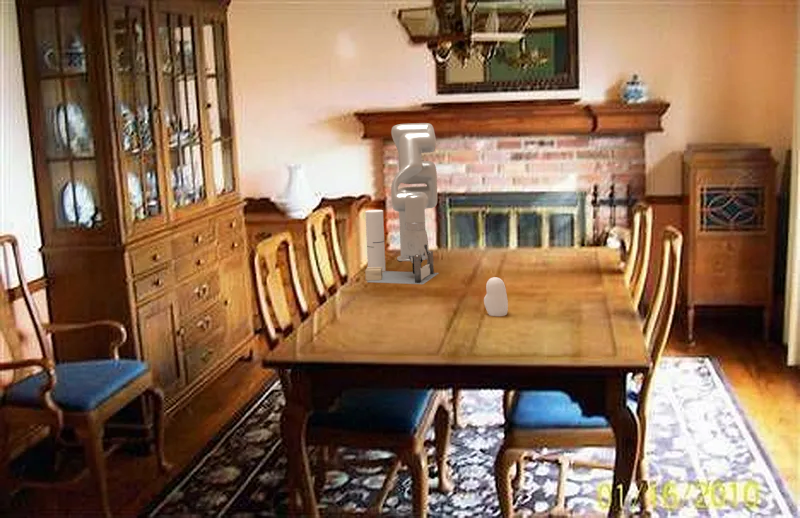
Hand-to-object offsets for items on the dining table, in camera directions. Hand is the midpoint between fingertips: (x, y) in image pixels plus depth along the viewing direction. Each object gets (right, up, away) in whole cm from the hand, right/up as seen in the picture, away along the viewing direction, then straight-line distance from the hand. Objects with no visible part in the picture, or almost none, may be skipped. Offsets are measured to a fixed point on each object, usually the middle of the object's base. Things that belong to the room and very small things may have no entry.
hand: (417, 273), depth 357 cm
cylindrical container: (-16, 0, +18) cm, 24 cm away
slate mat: (-5, -2, +2) cm, 6 cm away
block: (-17, -2, +2) cm, 17 cm away
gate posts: (+3, -2, 0) cm, 3 cm away
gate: (+3, -2, -1) cm, 3 cm away
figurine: (+25, -13, -57) cm, 63 cm away
